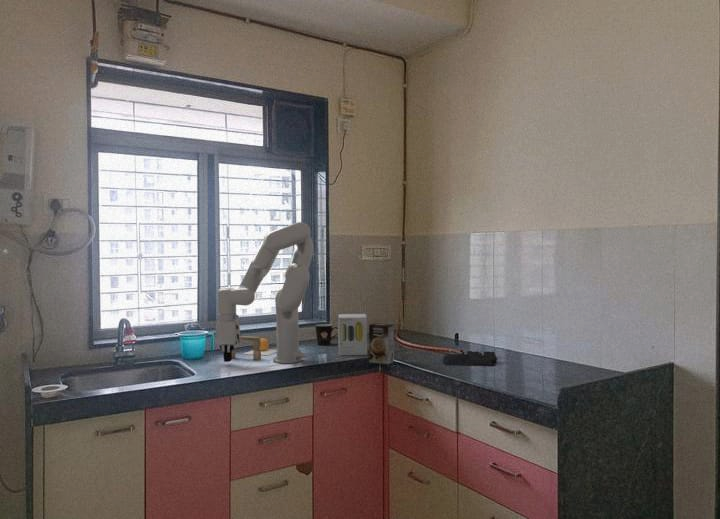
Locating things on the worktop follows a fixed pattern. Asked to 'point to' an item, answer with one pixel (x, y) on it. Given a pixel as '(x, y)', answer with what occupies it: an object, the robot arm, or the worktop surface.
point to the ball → (264, 344)
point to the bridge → (255, 347)
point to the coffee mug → (324, 334)
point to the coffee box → (381, 343)
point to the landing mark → (263, 352)
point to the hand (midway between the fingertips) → (227, 361)
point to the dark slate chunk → (471, 359)
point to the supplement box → (352, 334)
